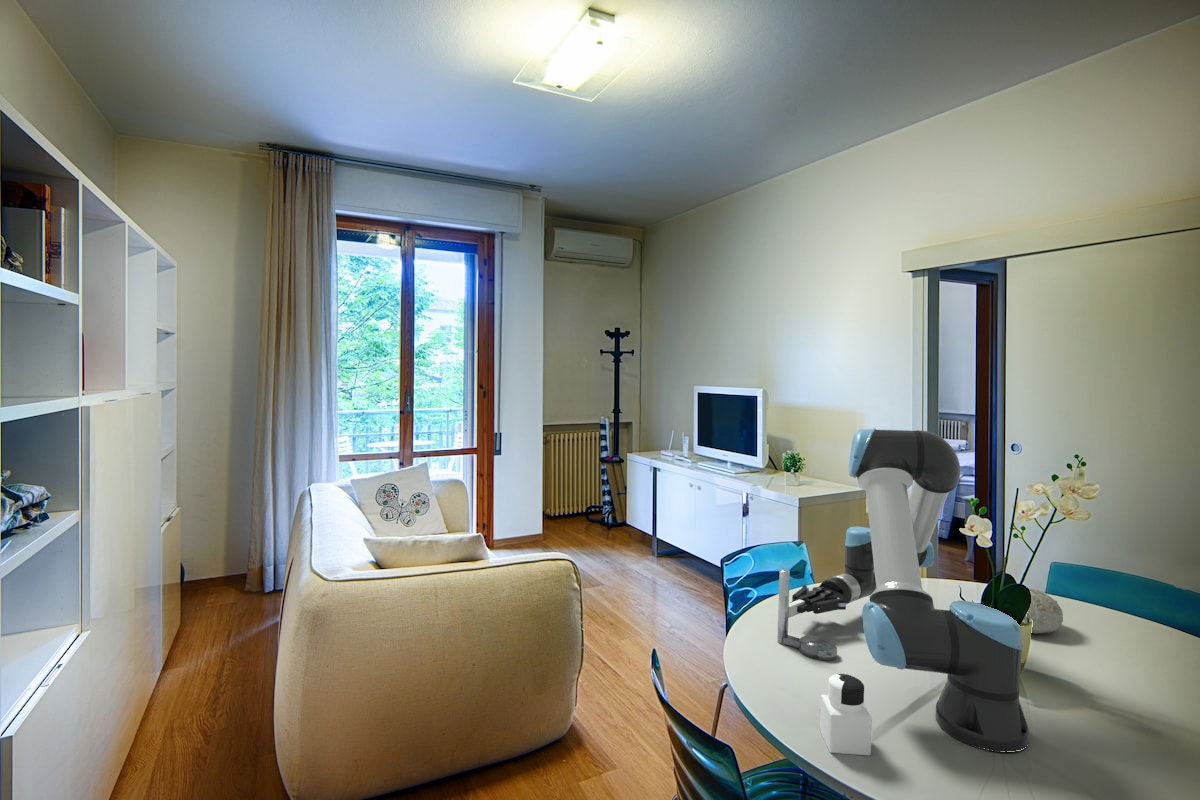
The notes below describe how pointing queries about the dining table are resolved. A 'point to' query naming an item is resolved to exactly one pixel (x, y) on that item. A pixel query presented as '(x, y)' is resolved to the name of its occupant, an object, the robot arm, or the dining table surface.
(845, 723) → the medicine bottle
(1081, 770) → the dining table surface
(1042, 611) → the grey rock
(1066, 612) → the dining table surface
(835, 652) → the crank handle
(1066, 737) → the dining table surface
